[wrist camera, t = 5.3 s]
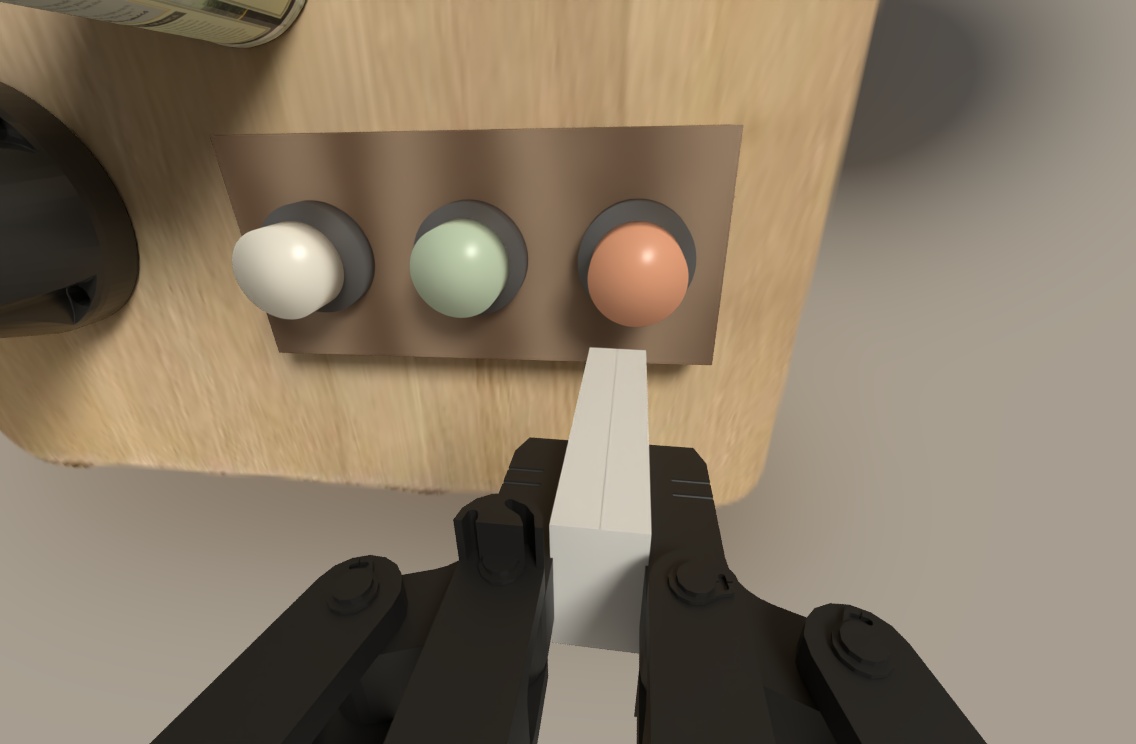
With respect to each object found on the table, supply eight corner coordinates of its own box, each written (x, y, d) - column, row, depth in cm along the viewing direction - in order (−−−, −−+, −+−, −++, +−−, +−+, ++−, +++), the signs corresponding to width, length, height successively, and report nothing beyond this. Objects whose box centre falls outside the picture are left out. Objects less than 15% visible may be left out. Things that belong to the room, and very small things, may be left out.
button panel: (307, 333, 32) (267, 360, 29) (250, 134, 27) (192, 136, 23) (704, 343, 30) (714, 374, 26) (730, 124, 24) (749, 125, 21)
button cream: (275, 305, 26) (249, 318, 24) (248, 221, 24) (218, 228, 22) (352, 306, 26) (332, 320, 24) (332, 220, 24) (308, 228, 22)
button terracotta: (590, 311, 24) (587, 326, 23) (590, 220, 22) (587, 229, 20) (679, 312, 24) (683, 328, 22) (687, 220, 22) (693, 229, 20)
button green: (432, 303, 26) (417, 316, 24) (418, 218, 24) (402, 225, 22) (513, 305, 25) (504, 318, 24) (506, 218, 23) (496, 226, 22)
